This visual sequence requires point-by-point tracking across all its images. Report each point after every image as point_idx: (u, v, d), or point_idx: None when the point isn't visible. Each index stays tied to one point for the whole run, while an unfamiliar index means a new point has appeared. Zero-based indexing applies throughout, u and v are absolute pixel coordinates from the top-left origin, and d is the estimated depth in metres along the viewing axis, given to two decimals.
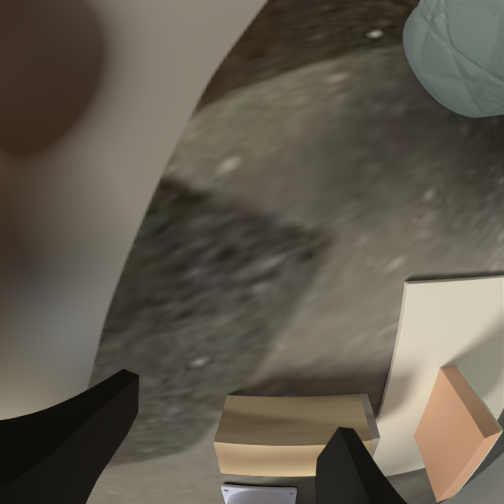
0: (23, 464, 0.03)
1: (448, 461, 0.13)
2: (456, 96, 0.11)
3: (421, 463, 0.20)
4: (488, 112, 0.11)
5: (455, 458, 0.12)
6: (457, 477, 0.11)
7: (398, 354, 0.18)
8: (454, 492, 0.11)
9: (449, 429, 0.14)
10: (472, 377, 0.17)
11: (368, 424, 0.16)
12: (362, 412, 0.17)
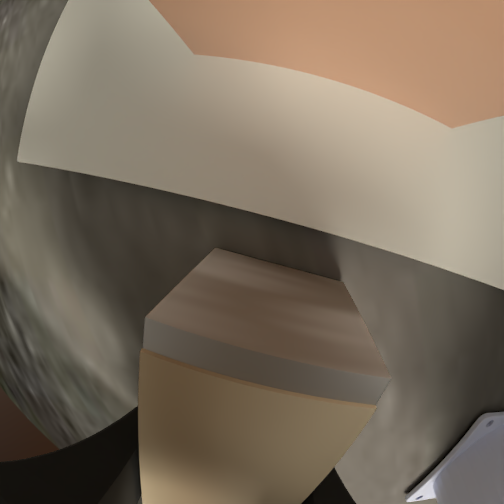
0: None
1: None
2: None
3: None
4: None
5: None
6: None
7: (111, 171, 0.08)
8: None
9: None
10: None
11: None
12: None
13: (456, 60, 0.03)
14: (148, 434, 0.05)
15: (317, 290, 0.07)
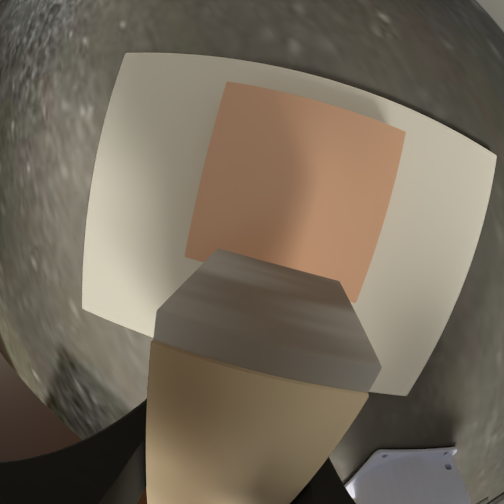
0: None
1: (320, 145, 0.11)
2: None
3: (443, 294, 0.14)
4: None
5: (300, 126, 0.11)
6: (326, 104, 0.11)
7: (151, 333, 0.16)
8: None
9: (267, 174, 0.12)
10: None
11: None
12: None
13: (338, 213, 0.12)
14: (157, 422, 0.05)
15: (314, 288, 0.08)
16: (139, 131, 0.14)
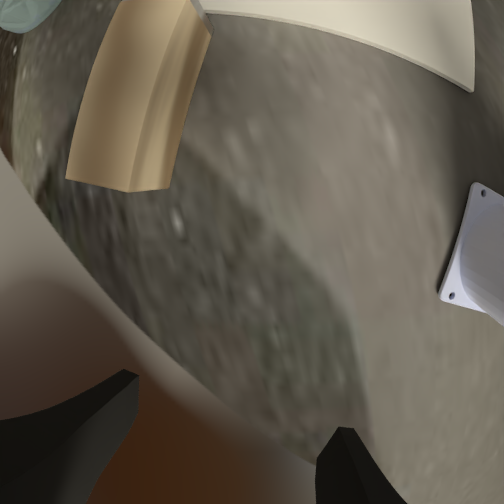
0: (23, 464, 0.03)
1: None
2: None
3: (459, 8, 0.11)
4: None
5: None
6: None
7: (222, 8, 0.13)
8: None
9: None
10: None
11: None
12: None
13: None
14: (109, 32, 0.10)
15: None
16: None
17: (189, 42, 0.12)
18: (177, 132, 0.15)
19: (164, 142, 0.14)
